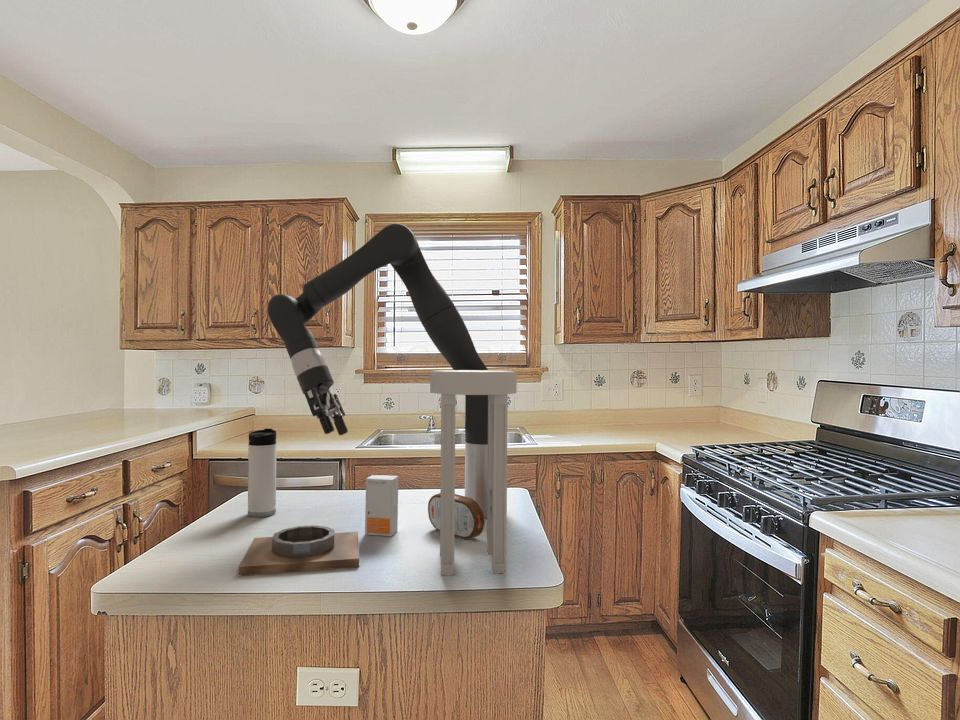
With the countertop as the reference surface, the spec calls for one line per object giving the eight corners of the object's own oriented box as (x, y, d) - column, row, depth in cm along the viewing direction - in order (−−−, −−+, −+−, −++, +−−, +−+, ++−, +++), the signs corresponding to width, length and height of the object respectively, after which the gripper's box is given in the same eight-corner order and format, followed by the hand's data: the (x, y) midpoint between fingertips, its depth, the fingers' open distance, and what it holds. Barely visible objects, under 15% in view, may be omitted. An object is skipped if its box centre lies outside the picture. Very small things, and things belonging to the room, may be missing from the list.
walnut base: (357, 538, 114) (357, 531, 114) (359, 566, 99) (359, 558, 99) (254, 545, 110) (254, 537, 110) (238, 575, 94) (238, 566, 94)
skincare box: (364, 535, 117) (364, 478, 117) (371, 529, 121) (372, 474, 121) (392, 537, 116) (392, 479, 116) (398, 530, 120) (398, 475, 120)
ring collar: (335, 536, 111) (335, 524, 111) (333, 555, 100) (333, 541, 100) (276, 540, 108) (276, 527, 108) (268, 559, 98) (268, 545, 98)
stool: (428, 580, 93) (430, 371, 93) (429, 549, 108) (430, 369, 109) (519, 577, 94) (521, 371, 94) (507, 547, 110) (509, 370, 110)
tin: (485, 541, 114) (485, 499, 114) (474, 544, 112) (475, 502, 112) (435, 525, 124) (436, 488, 124) (425, 528, 122) (425, 490, 122)
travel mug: (281, 510, 136) (281, 428, 136) (268, 518, 129) (268, 431, 129) (256, 509, 136) (257, 428, 136) (242, 517, 130) (243, 431, 130)
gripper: (313, 359, 125) (340, 424, 122) (337, 368, 139) (361, 427, 136) (284, 374, 125) (310, 439, 122) (310, 381, 139) (334, 441, 136)
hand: (337, 433), depth 129 cm, fingers open, 8 cm apart
